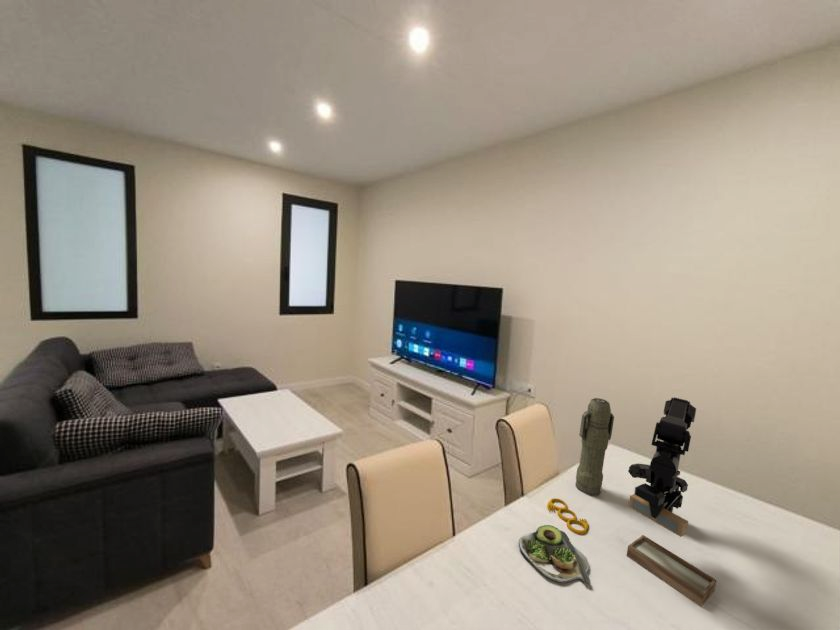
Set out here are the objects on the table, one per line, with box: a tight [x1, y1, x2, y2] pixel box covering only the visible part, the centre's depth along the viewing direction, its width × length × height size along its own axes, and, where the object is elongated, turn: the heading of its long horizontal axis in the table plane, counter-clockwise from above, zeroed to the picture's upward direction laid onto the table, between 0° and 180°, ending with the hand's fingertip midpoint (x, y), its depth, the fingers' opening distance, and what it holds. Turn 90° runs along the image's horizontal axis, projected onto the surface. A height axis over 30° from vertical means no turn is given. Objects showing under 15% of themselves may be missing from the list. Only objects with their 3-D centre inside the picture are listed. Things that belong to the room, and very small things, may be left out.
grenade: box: [575, 397, 615, 496], centre depth 133 cm, size 9×12×35 cm
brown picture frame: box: [626, 534, 718, 607], centre depth 98 cm, size 9×18×3 cm, turn 34°
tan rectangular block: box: [628, 493, 689, 538], centre depth 103 cm, size 4×14×4 cm, turn 32°
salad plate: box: [518, 524, 591, 584], centre depth 99 cm, size 19×18×5 cm
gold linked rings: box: [546, 497, 589, 536], centre depth 118 cm, size 17×2×10 cm
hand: (656, 515), depth 103 cm, fingers closed on tan rectangular block, 4 cm apart
